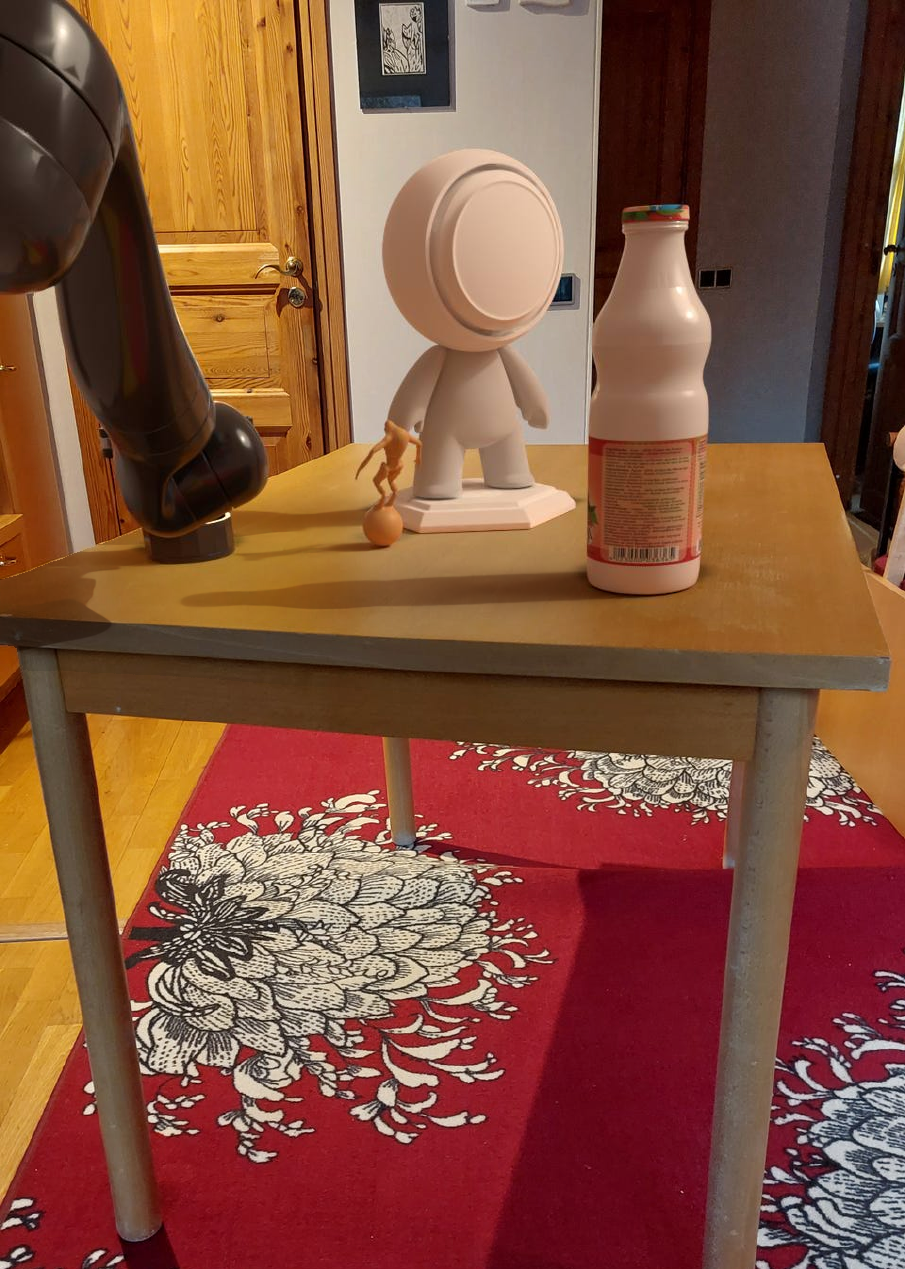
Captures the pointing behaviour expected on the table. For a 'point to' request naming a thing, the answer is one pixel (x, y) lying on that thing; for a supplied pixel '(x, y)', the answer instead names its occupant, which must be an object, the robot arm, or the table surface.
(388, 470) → the figurine
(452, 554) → the table surface
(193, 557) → the tape roll
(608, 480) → the fruit juice
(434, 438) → the big headed doll
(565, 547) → the table surface
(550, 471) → the table surface
